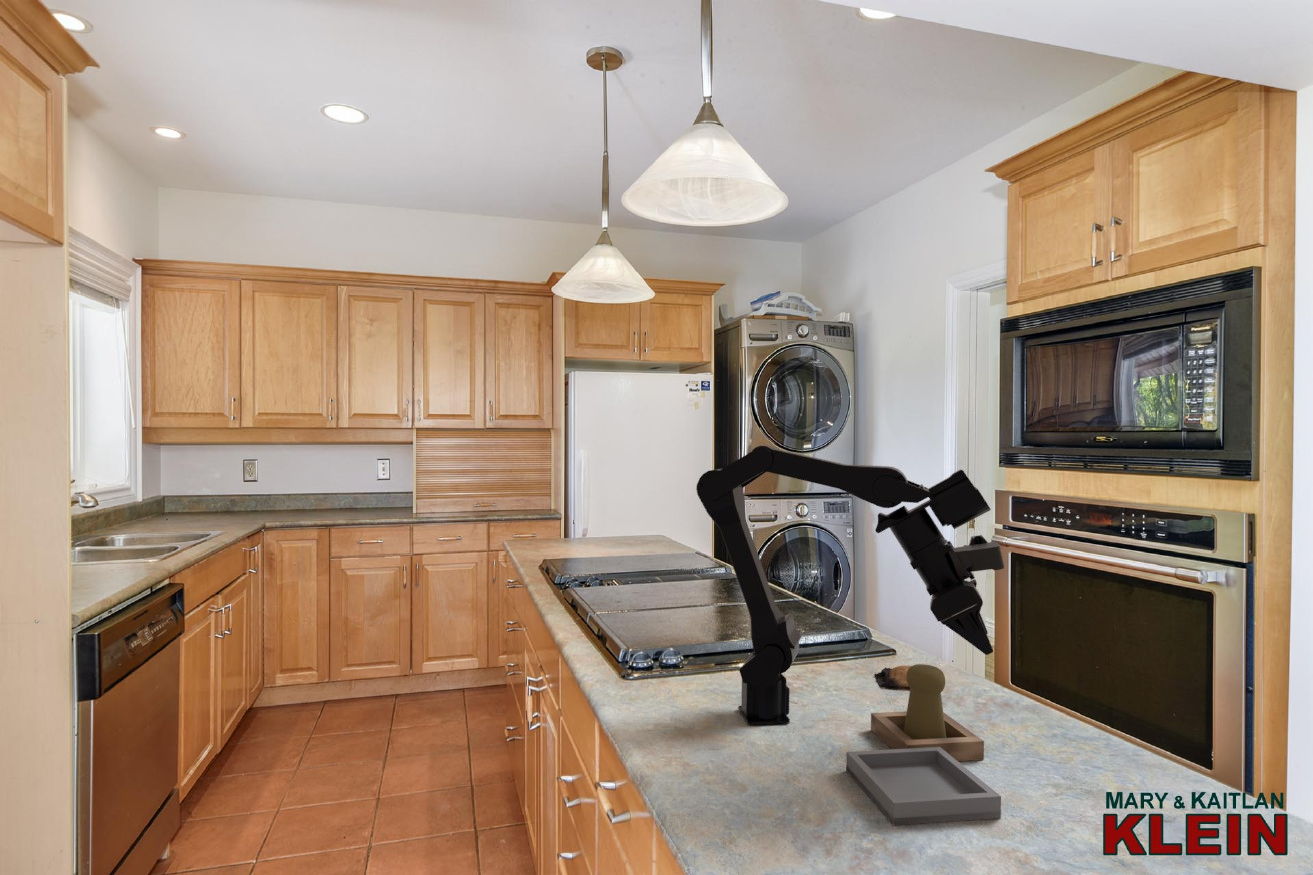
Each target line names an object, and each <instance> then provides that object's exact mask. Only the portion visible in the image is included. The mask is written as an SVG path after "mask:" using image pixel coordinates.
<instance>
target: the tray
mask: <svg viewBox="0 0 1313 875" xmlns="http://www.w3.org/2000/svg"><path fill="white" fill-rule="evenodd" d="M845 756H846V758H845V759H846V760H845V763H846V764H845V765H846V766H845V770H846V772H847V774H848V775H849V776H850V777H851V778H852V779H853V781H854V782H855V783H856V784H857V785H858V786H859V788H860V789H862V791H863V792H864V793H865V794H866V795H867V797H868V798H869V799H870V800H871V802H873V804H874V805H875V806H876V807H877V808H878V809H879V810H880V812H882V814H883V815H884V816H885V817H886V819H887V820H888V821H889V822H890V823H891V825H892V826H905V825H919V824H920V825H921V824H922V825H923V824H932V823H933V824H937V823H948V822H949V823H950V822H951V823H953V822H961V821H962V822H964V821H967V822H968V821H979V820H980V821H981V820H992V819H993V820H994V819H1002V817H1001V816H1002V796H1001V795H1000V794H999V793H997V791H995V790H994V789H993V788H991V787H990V786H989V785H988V784H987V783H985V782H984V781H983V780H982V779H980V778H979V777H978V776H977V775H976V774H974V773H973V772H972V771H970V770H969V769H968V768H967V767H965V766H964V765H963V764H962V763H960V761H957V760H955V759H954V758H953V757H952V756H950V755H949V754H948V753H947V752H946V751H944V750H943V749H942V748H941V747H928V748H909V749H891V748H890V749H874V750H856V751H855V750H854V751H853V750H852V751H846V755H845Z"/></svg>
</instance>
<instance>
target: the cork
mask: <svg viewBox="0 0 1313 875" xmlns="http://www.w3.org/2000/svg"><path fill="white" fill-rule="evenodd" d="M910 666H911V667H910V668H909V669H908V671H907V675H906V680H907V684H908V686H909V687H910V691H909V694H908V702H907V707H906V711H907V714H906V720H905V727H904V733H905V734H906V735H908V736H909V737H910V738H911V739H912V740H918V739H938V738H946V731H945V723H944V715H943V712H944V708H943V707H944V706H943V699H942V698H943V697H942V692H943V691H944V689H945V687H946V676H945V673H944V672H943V670H942V669H940V668H939V667H936V666H935V665H931V664H923V663H919V664H913V665H910Z"/></svg>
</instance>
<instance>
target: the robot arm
mask: <svg viewBox="0 0 1313 875" xmlns="http://www.w3.org/2000/svg"><path fill="white" fill-rule="evenodd" d="M766 473H771V474H775V475H780V476H784V477H788V478H792V479H796V480H797V479H798V480H801V481H804V482H807V483H808V482H809V483H813V484H817V485H822V486H826V487H831V488H835V489H839V490H841V491H843V492H845V493H848V494H850V495H852V496H854V497H855V498H856V497H857V498H858V499H860V500H862V501H866V502H868V503H870V504H872V505H874V506H877V507H879V508H884V509H891V508H895V507H896V506H899V505H900V504H902V503H914V504H915V503H916V504H918V503H920V502H922V501H923V500H926V499H927V498H928V500H927V501H924V502H923V503H921V504H919V505H917V506H915V507H914V508H912V509H908V508H907V507H906V506H905V505H902V506H900V507H899V508H897V509H895V510H893V511H891V512H889V513H888V514H885V513H883V512H879V513H878V514H877V524H876V527H875V532H876V533H877V534H881V533H882V532H884V531H886V530H887V529H890V531H891V533H893V535H894V537H895V538H896V540H897V542H898V543H899V545H900V547H901V548H902V550H903V552H904V554H906V557H907V558H908V560H909V564H910V566H911V567H912V568H913V569H912V570H914V571H916V572H917V574H918V575H919V577H920V579H921V580H922V582H923V583H924V585H925V589H926V591H927V593H928V594H929V596H931V600H930V603H929V604H930V606H929V607H930V608H929V610H930V612H931V613H932V614H933V616H934V618H935V619H936V622H940V623H941V624H942V625H944V626H946V627H947V628H948V629H950V630H951V631H953V632H954V633H956V634H957V635H958V636H960V637H961V638H962V639H963V640H965V641H966V642H968V643H969V644H970V645H972V646H974V647H975V648H976V649H977V650H979V651H980V652H981V653H982V654H984V655H986V656H988V655H991V654H992V653H994V649H993V647H992V644H991V642H990V639H989V637H988V633H989V632H988V630H987V629H988V628H987V627H986V625H985V622H984V620H983V617H982V614H981V610H982V608H983V605H984V603H983V602H984V601H983V598H982V595H981V594H980V592H979V590H978V589H977V585H978V584H977V580H976V579H975V574H974V572H981V571H990V570H993V571H1000V570H1003V569H1005V563H1004V561H1003V560H1004V559H1003V556H1002V551H1001V546H1000V543H999V542H997V541H993V540H992V541H990V542H988V541H987V540H986V538H985V537H984V536H983V534H980V535H973V536H970V540H969V543H968V545H967V544H965V545H963V546H957V547H954V545H953V543H952V542H951V541H950V540H947V539H946V538H945V537H944V535H943V534H942V532H941V530H940V529H939V527H938V525H937V524H936V523H935V522H934V519H933V518H932V517H931V515H930V513H929V511H928V510H927V509H926V508H928V507H929V508H930V509H931V510H932V513H933V514H934V516H935V517H936V518H937V520H938V522H939V523H940V525H941V526H942V527H945V526H946V527H949V526H951V527H952V528H953V529H954V530H956V529H957V528H959V527H962V526H964V525H965V524H967V523H969V522H972V521H973V520H974V519H977V518H979V517H980V516H983V515H984V514H986V513H988V512H990V511H991V510H992V509H991V507H990V505H989V504H988V503H987V501H986V500H985V497H984V496H983V495H982V493H981V492H980V490H979V489H978V487H976V486H974V484H973V482H972V481H971V480H970V479H969V477H968V476H967V474H966V473H965V470H963V469H958V470H956V471H954V472H953V473H952V474H950V475H949V476H947V478H945V479H943V480H942V481H939V482H938V483H936V484H934V485H932V486H931V487H926V486H924V484H923V483H922V484H918V483H917V482H913V481H911V480H908V479H907V476H906V475H905V474H904V472H903V471H901V470H900V469H898V468H896V467H894V466H887V465H886V466H885V465H865V464H864V465H861V464H860V465H859V464H845V463H841V462H836V461H832V460H828V459H827V460H826V459H822V458H818V457H813V456H809V455H804V454H801V453H795V452H793V451H792V452H791V451H788V450H787V451H786V450H783V449H779V448H775V447H773V446H771V445H758V446H756V447H754V448H753V449H752V450H751V451H750V452H749V453H747V454H745V455H743V456H742V457H740V458H739V459H736V460H735V461H733V462H731V463H729V464H728V465H726V466H724V467H723V468H717V469H711V470H707V471H706V472H704V473H703V474H702V475H701V476H700V477H699V478H698V481H697V483H696V488H695V489H696V495H697V496H698V499H699V500H700V502H701V504H702V506H703V507H704V509H705V511H706V513H707V515H708V516H709V517H710V518H711V520H712V521H713V522H714V524H715V525H716V526H717V528H718V529H719V531H720V533H721V536H722V539H723V542H724V545H725V547H726V551H727V553H728V556H729V560H730V562H731V565H732V568H733V570H734V573H735V576H736V579H737V581H738V582H737V583H738V584H739V588H740V591H741V593H742V596H743V600H744V601H745V605H746V608H747V610H748V613H749V617H750V636H751V644H752V650H753V651H752V653H751V654H750V655H749V657H748V658H747V659H746V660H745V662H744V663H743V664H742V665H741V667H740V668H739V670H738V671H739V674H740V676H741V705H738V707H737V709H738V711H739V713H740V714H741V716H742V717H743V718H744V720H745V722H746V723H747V724H748V725H749V726H754V725H755V726H756V725H773V724H775V725H776V724H780V725H781V724H789V723H790V721H791V720H790V718H789V717H788V715H789V714H790V695H791V694H790V687H788V686H787V678H786V676H785V675H784V674H783V673H785V672H787V671H788V670H789V669H790V668H791V666H792V665H793V663H794V660H795V659H796V657H797V655H798V653H799V651H800V640H801V638H802V635H801V633H800V632H799V631H798V629H797V626H796V623H795V617H794V613H792V612H790V613H788V614H786V615H784V613H783V612H782V611H781V610H780V608H779V607H778V605H777V604H776V600H775V598H774V595H773V592H772V590H771V587H770V584H769V581H768V578H767V576H766V573H765V570H764V567H763V565H762V561H761V559H760V555H759V553H758V551H757V547H756V545H755V542H754V539H753V537H752V533H751V531H750V527H749V525H748V522H747V518H746V498H745V494H744V488H745V487H746V486H748V485H750V484H751V483H753V482H754V481H756V480H758V479H759V478H760V477H761V476H763V475H764V474H766ZM967 579H970V580H969V581H968V580H967Z"/></svg>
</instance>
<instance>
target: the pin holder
mask: <svg viewBox="0 0 1313 875" xmlns="http://www.w3.org/2000/svg"><path fill="white" fill-rule="evenodd" d="M906 714H907V710H906V711H887V712H871V713H870V731H872V732H873V733H874V734H875V735H876V736H877V737H878V738H879V739H880V740H881V741H882V742H884V744H886V746H888V748H890V749H909V748H928V747H941V748H942V749H943V750H944V751H946V752H947V753H948V754H949V755H950V756H952V757H953V758H954V759H955V760H957V761H958V762H963V761H965V762H967V761H981V760H982V761H983V760H984V759H985V758H984V757H985V740H983V739H982V738H980V737H979V736H977V735H976V734H974V733H973V731H970V730H969V729H967V728H966V727H965V726H964V725H962V724H960V722H958V721H957V720H955V718H952V717H951V716H949V715H948V714H946V713H945V712H944V711H943V715H944V723H945V731H946V738H938V739H918V740H912V739H911V738H910V737H909V736H908V735H906V734H905V733H904V727H905V720H906Z"/></svg>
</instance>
